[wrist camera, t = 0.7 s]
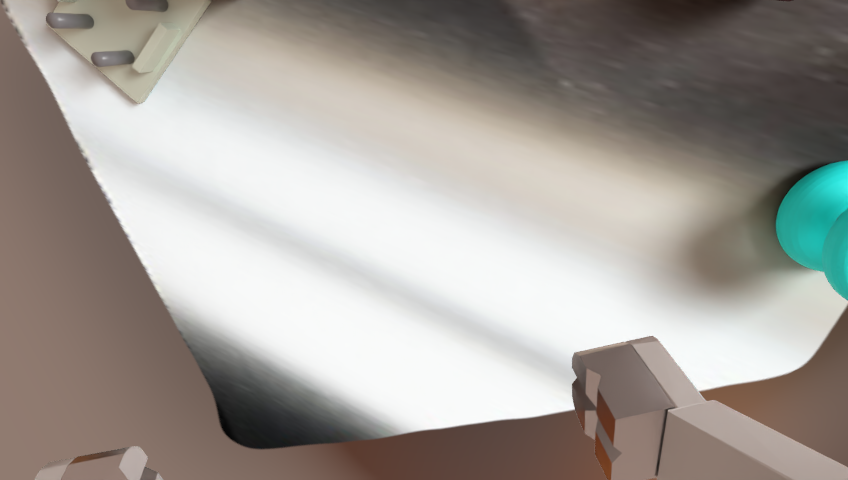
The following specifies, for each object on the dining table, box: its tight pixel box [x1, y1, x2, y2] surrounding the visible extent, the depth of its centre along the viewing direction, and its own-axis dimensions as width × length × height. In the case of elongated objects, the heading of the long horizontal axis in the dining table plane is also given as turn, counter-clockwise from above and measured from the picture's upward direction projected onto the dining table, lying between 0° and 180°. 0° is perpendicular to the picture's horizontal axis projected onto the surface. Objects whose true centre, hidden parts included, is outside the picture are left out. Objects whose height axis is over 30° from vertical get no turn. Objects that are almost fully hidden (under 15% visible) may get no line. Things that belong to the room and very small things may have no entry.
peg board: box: [46, 0, 211, 104], centre depth 45 cm, size 12×10×5 cm
